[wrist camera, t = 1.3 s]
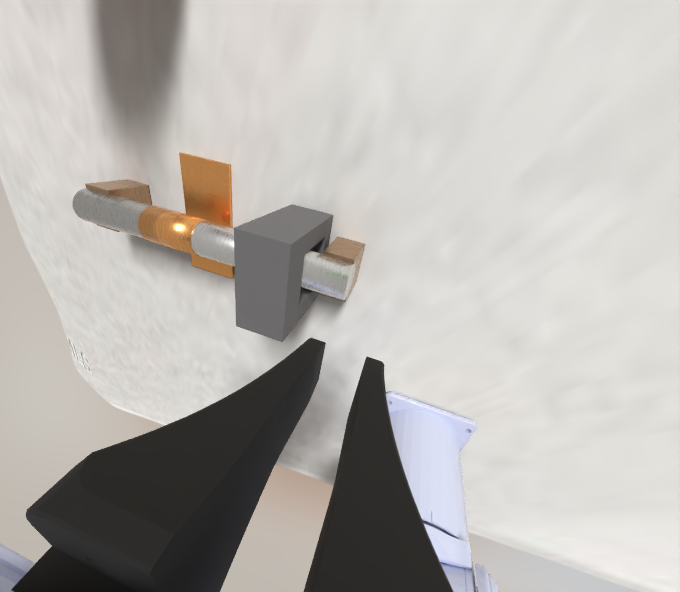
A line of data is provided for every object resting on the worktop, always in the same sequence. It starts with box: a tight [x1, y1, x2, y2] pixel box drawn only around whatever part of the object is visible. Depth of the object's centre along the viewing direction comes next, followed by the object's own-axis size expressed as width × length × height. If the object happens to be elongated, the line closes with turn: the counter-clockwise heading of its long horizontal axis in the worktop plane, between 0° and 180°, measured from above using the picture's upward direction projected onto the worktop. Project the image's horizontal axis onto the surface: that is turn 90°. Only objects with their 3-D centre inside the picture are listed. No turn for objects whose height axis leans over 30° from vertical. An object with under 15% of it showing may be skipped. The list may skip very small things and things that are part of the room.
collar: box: [234, 205, 333, 342], centre depth 17 cm, size 3×6×7 cm, turn 169°
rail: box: [73, 153, 365, 302], centre depth 19 cm, size 20×9×4 cm, turn 79°
